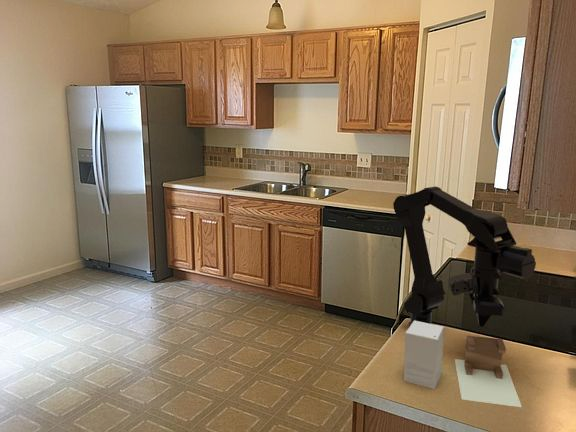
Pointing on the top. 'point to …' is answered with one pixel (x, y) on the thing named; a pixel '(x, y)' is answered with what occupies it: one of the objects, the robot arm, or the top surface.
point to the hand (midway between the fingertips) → (481, 325)
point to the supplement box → (423, 354)
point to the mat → (487, 386)
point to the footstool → (484, 355)
